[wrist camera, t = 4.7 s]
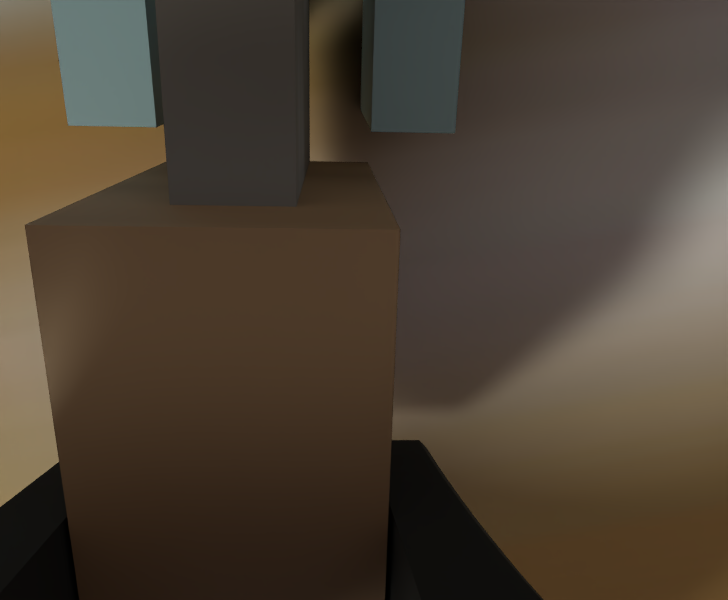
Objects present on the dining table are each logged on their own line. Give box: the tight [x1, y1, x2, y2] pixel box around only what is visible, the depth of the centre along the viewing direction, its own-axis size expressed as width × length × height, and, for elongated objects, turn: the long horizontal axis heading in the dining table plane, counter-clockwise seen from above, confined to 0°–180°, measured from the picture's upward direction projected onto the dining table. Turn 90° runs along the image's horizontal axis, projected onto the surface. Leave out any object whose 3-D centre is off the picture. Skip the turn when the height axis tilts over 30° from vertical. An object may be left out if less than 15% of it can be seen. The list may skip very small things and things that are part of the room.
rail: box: [25, 0, 400, 600], centre depth 8 cm, size 12×3×5 cm, turn 178°
